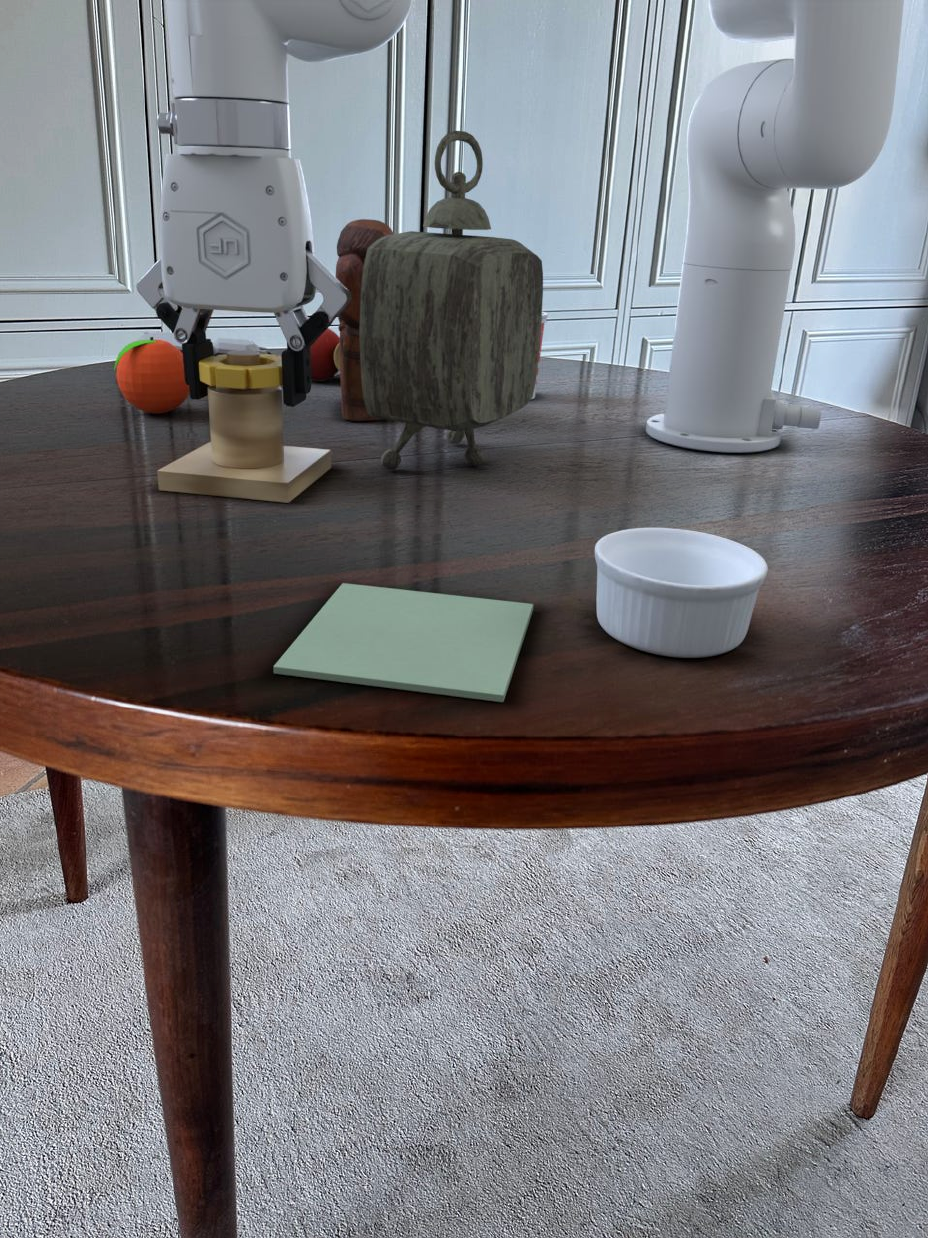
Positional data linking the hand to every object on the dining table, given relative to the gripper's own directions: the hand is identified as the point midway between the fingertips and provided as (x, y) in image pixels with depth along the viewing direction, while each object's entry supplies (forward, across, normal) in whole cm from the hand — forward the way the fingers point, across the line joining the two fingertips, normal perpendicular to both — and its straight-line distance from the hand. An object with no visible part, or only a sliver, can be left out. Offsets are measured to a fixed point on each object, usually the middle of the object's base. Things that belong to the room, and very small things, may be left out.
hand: (249, 397), depth 74 cm
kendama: (+7, -2, +42) cm, 42 cm away
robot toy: (+6, -20, +37) cm, 43 cm away
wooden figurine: (+7, +2, +27) cm, 28 cm away
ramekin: (+7, +32, -20) cm, 38 cm away
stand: (+6, 0, 0) cm, 6 cm away
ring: (-1, 0, 0) cm, 1 cm away
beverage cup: (+7, +15, +40) cm, 43 cm away
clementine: (+6, -17, +18) cm, 26 cm away
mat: (+6, +19, -25) cm, 32 cm away
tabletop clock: (+7, +14, +10) cm, 18 cm away
